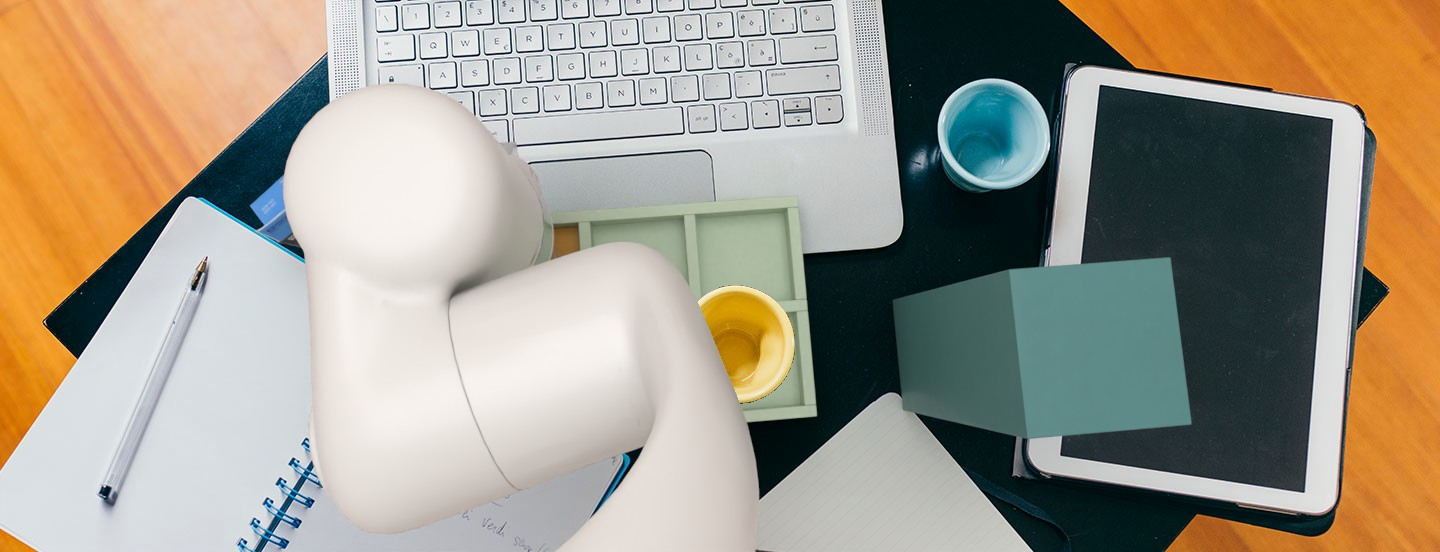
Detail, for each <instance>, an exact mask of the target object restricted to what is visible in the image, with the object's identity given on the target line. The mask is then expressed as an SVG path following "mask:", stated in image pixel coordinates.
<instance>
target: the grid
mask: <svg viewBox="0 0 1440 552" xmlns="http://www.w3.org/2000/svg"><path fill="white" fill-rule="evenodd" d="M550 215H551V218H552V222H553V228H554V245H553V246H554V247H555V248H556V249H557V250H558V252H559V253H560V254H561V256H565V255H568V254H571V253H574V252H578V251H581V250H585V249H588V248H591V247H595V246H598V245H602V244H606V243H613V242H634V243H639V244H643V245H646V246H648V247H651V248H653V249H655V250H657V251H659V252H660V253H661V254H663V255H664V256H665V257H666V258H668V259H669V260H670V261H671V262H672V263H673V264H674V265H675V266H676V268H677V269H678V270H679V271H680V273H681V274H682V276H683V277H684V279H685V280H686V282H687V284H688V285H689V287H690V289H691V290H692V292H693V294H694V295H695V297H696V299H697V301H699V300H700V299H701V298H702V297H703V296H704V295H706V294H707V293H709V292H711V291H713V290H715V289H717V288H719V287H722V286H728V285H743V286H748V287H752V288H755V289H757V290H760V291H762V292H764V293H766V294H767V295H769V296H770V297H772V298H773V299H774V300H775V301H776V302H777V303H778V304H779V305H780V306H781V308H782V309H783V310H784V311H785V312H786V313H787V315H788V316H789V319H790V321H791V324H792V327H793V330H794V334H795V355H794V360H793V363H792V365H791V369H790V371H789V373H788V374H787V377H786V378H785V380H784V381H783V382H782V384H781V385H780V386H779V387H778V388H777V389H776V390H775V391H773V392H772V393H770V394H769V395H767V396H766V397H764V398H762V399H759V400H757V401H754V402H751V403H743V404H740V405H741V407H742V410H743V413H744V416H745V419H746V422H747V423H754V422H755V423H756V422H765V421H778V420H779V421H780V420H790V419H803V418H813V417H814V418H815V417H818V410H817V398H816V397H817V396H816V386H815V375H814V364H813V353H812V341H811V331H810V318H809V311H808V310H809V307H808V300H807V298H808V297H807V285H806V274H805V263H804V252H803V241H802V231H801V230H802V229H801V228H802V227H801V219H800V208H799V196H798V195H788V196H775V197H760V198H746V199H732V200H717V201H716V200H715V201H700V202H688V203H687V202H686V203H675V204H674V203H673V204H659V205H657V204H656V205H645V206H644V205H643V206H642V205H641V206H629V207H616V208H602V209H586V210H572V211H558V212H550Z"/></svg>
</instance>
